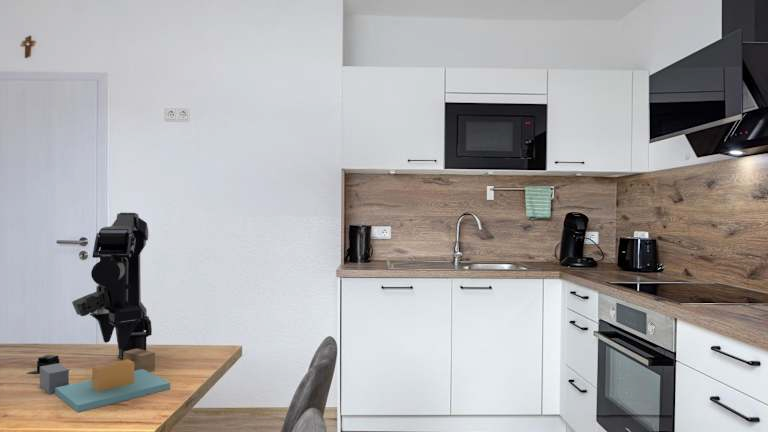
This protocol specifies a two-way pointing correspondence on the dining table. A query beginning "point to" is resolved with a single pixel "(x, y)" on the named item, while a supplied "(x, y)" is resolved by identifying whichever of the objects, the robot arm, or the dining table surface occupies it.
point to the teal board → (110, 391)
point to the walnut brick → (141, 359)
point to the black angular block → (45, 362)
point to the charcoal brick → (53, 377)
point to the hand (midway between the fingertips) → (113, 345)
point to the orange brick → (112, 374)
